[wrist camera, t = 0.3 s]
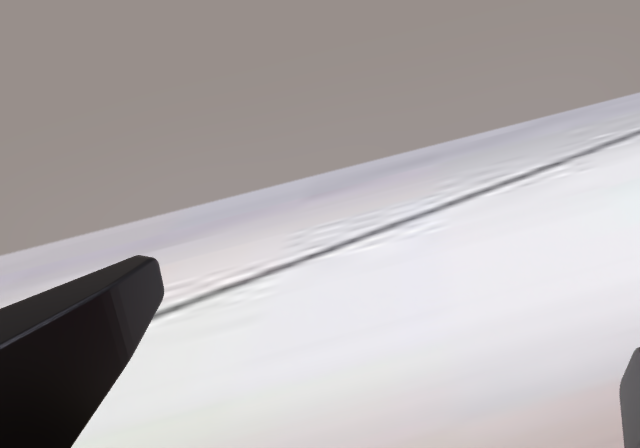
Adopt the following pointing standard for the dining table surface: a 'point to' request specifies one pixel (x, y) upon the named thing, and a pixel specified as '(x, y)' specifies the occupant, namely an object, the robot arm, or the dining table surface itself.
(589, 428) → the dining table surface
